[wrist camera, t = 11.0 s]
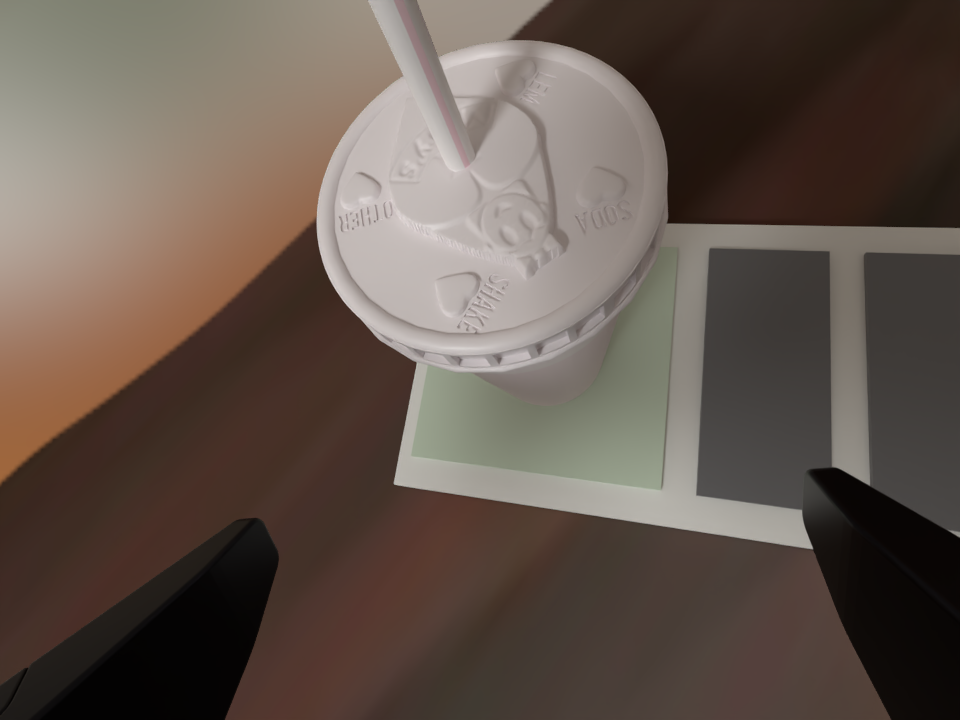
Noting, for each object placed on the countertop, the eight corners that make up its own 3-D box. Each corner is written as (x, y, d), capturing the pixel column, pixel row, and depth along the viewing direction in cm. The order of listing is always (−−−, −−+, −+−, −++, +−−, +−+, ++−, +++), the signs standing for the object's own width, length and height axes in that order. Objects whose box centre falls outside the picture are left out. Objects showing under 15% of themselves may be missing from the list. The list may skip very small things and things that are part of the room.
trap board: (1018, 581, 15) (1036, 583, 14) (399, 485, 19) (391, 483, 19) (986, 237, 17) (1000, 225, 17) (448, 226, 22) (442, 217, 21)
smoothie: (567, 231, 20) (465, -351, 7) (691, 368, 17) (895, -124, 4) (421, 337, 20) (48, -33, 7) (524, 488, 18) (248, 353, 5)
